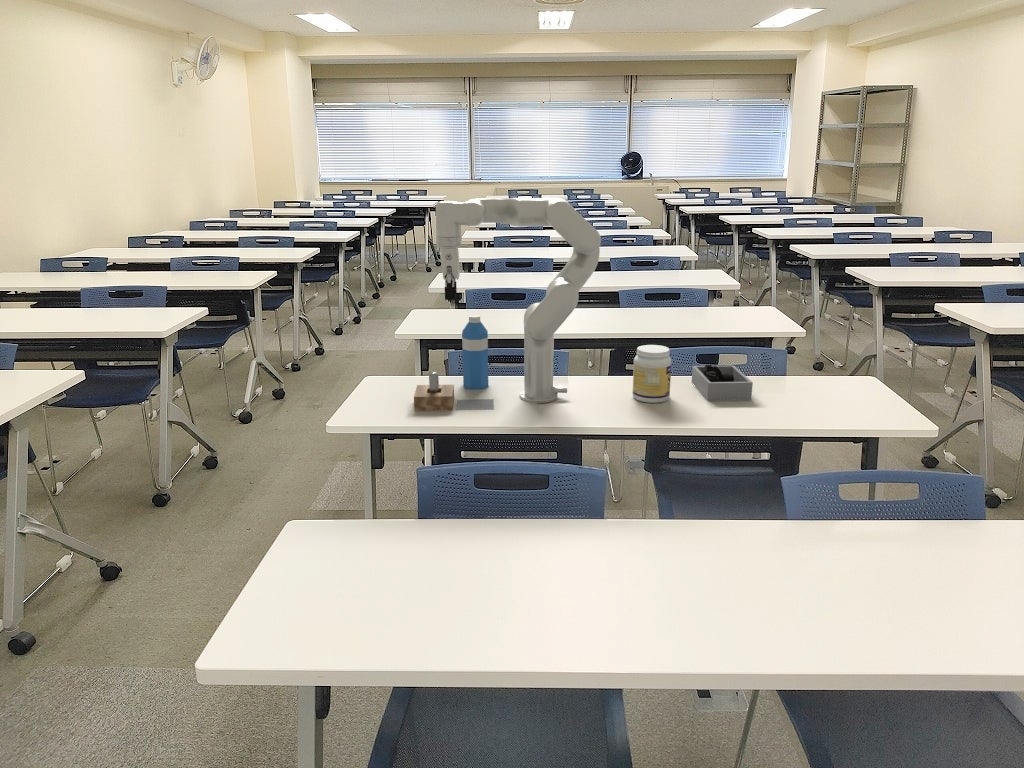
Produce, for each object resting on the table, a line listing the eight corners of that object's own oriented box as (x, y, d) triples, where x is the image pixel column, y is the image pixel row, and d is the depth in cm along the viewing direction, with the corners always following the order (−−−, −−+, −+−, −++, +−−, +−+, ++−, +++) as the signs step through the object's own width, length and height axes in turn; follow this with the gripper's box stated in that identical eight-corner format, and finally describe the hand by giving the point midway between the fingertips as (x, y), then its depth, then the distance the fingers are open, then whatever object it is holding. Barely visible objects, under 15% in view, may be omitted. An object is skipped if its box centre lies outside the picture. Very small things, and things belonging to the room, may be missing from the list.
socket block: (454, 398, 245) (453, 384, 244) (452, 411, 234) (452, 396, 232) (417, 399, 245) (417, 385, 243) (414, 411, 233) (413, 396, 232)
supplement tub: (672, 404, 239) (675, 353, 234) (634, 404, 239) (637, 353, 234) (665, 392, 251) (668, 343, 245) (629, 391, 251) (631, 343, 246)
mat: (493, 400, 243) (493, 399, 243) (493, 410, 234) (493, 409, 234) (457, 400, 243) (457, 399, 243) (455, 411, 234) (455, 410, 234)
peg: (439, 403, 241) (438, 371, 237) (439, 406, 238) (437, 374, 234) (430, 403, 241) (429, 371, 237) (429, 406, 238) (428, 374, 234)
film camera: (735, 399, 243) (738, 373, 240) (705, 398, 244) (707, 372, 241) (727, 385, 258) (730, 360, 255) (699, 384, 258) (701, 359, 256)
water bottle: (458, 384, 260) (456, 314, 252) (483, 380, 264) (481, 312, 256) (468, 392, 252) (466, 320, 244) (493, 388, 255) (492, 317, 248)
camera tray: (732, 381, 261) (733, 365, 259) (751, 399, 242) (752, 382, 240) (691, 382, 260) (692, 366, 258) (707, 400, 242) (708, 383, 240)
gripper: (460, 245, 221) (461, 302, 226) (462, 238, 238) (463, 291, 243) (435, 245, 221) (437, 302, 226) (438, 238, 237) (440, 291, 243)
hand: (450, 296), depth 234 cm, fingers open, 9 cm apart
